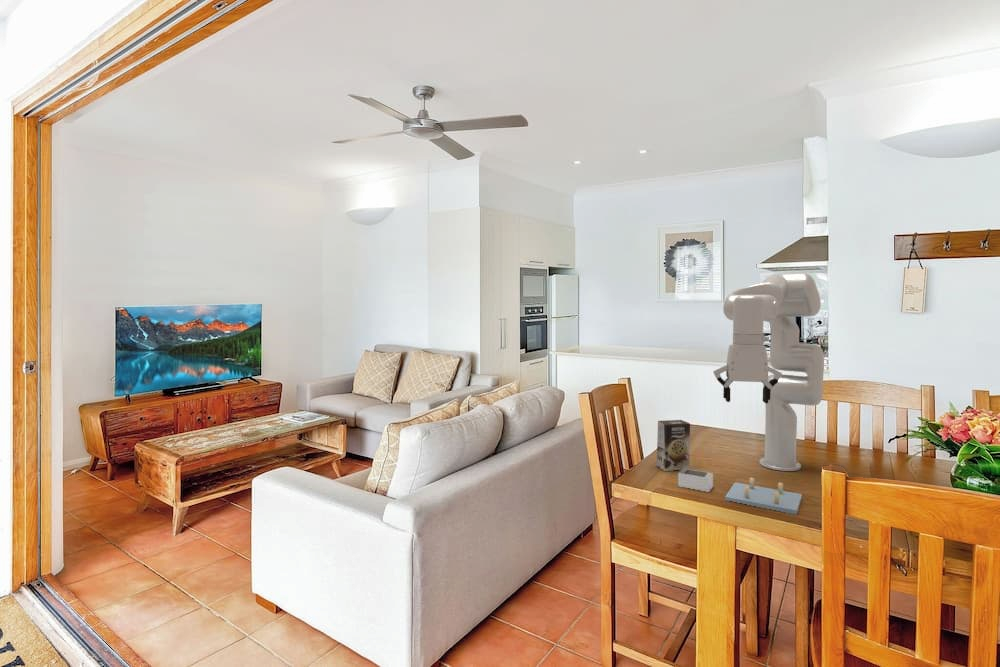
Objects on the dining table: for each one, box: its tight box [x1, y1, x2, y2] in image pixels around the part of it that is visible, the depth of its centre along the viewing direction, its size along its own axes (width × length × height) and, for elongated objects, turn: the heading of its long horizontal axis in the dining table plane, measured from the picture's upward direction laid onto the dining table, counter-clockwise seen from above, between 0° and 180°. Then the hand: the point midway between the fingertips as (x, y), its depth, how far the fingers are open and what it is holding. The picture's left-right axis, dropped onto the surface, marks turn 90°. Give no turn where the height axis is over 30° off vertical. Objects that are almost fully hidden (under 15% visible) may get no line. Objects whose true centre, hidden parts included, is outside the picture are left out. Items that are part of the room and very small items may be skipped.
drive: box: [677, 468, 714, 493], centre depth 162 cm, size 6×9×5 cm, turn 55°
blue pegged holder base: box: [724, 477, 803, 516], centre depth 151 cm, size 14×18×4 cm
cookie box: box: [656, 419, 691, 472], centre depth 179 cm, size 9×6×16 cm
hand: (746, 401), depth 145 cm, fingers open, 9 cm apart
